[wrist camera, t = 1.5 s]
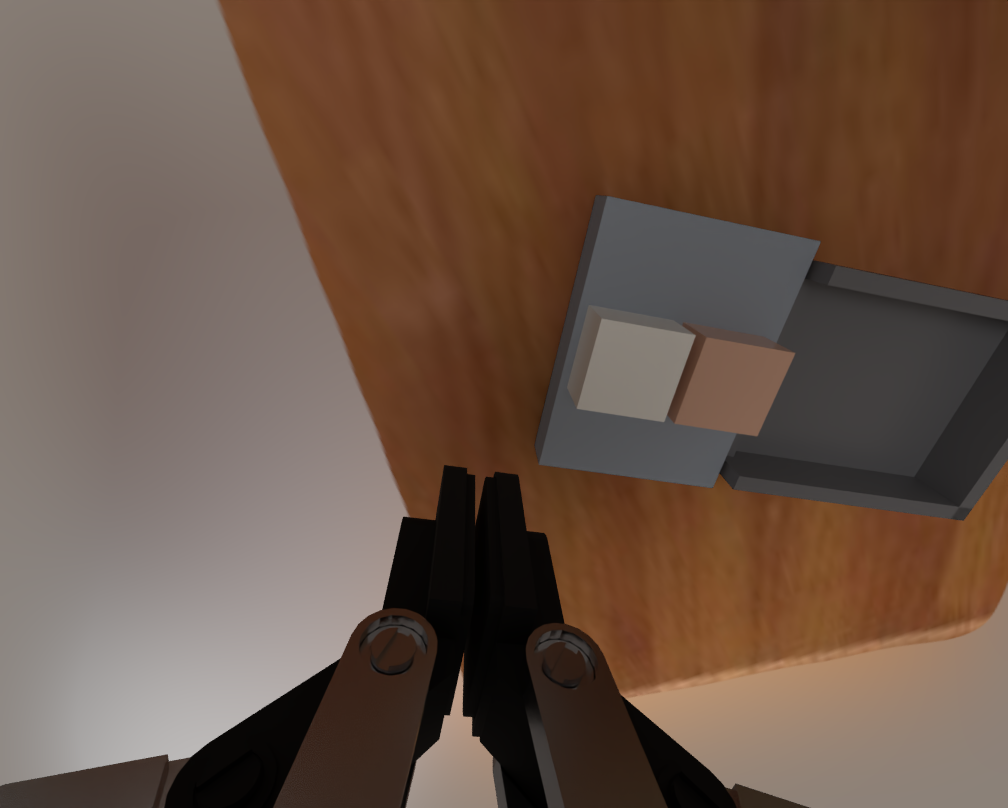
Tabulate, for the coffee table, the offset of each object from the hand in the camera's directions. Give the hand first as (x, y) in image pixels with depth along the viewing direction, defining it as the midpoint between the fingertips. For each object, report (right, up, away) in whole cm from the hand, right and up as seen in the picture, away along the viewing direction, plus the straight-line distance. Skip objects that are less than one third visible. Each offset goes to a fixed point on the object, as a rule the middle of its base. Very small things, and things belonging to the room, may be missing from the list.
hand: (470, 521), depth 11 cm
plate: (+10, +6, +19) cm, 22 cm away
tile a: (+7, +6, +16) cm, 19 cm away
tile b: (+13, +5, +17) cm, 22 cm away
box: (+25, +4, +21) cm, 33 cm away
